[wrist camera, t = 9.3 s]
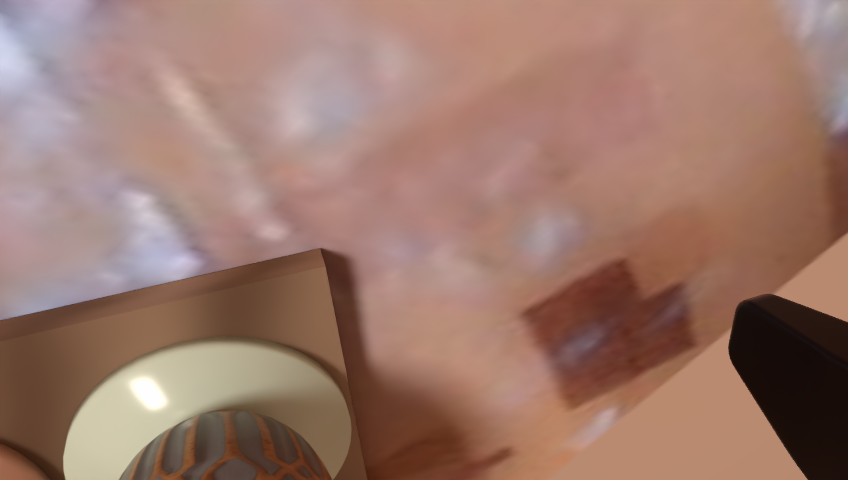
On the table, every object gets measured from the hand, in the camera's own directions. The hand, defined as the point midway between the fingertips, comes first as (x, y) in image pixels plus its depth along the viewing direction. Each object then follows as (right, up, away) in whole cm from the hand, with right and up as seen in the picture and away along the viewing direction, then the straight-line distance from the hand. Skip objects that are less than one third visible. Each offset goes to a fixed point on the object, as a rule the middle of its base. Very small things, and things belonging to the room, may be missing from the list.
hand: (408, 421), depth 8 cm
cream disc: (-7, -5, +15) cm, 17 cm away
